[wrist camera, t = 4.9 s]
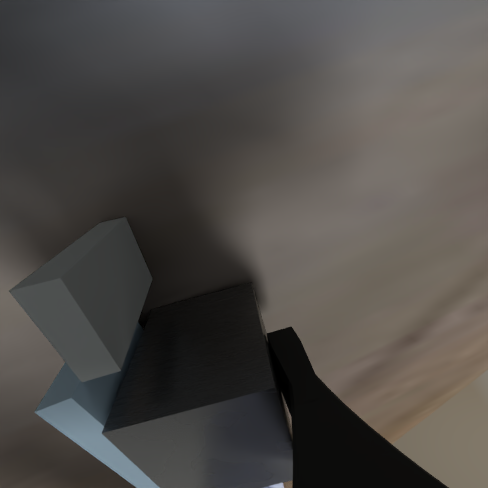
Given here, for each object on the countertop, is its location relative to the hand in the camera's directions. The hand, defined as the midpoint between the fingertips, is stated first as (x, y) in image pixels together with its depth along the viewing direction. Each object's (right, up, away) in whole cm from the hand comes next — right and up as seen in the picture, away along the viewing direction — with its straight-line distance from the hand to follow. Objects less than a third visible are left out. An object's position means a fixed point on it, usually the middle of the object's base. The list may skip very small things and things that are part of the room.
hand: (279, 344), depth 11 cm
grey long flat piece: (-5, -3, +2) cm, 6 cm away
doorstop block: (-3, 0, +1) cm, 3 cm away
